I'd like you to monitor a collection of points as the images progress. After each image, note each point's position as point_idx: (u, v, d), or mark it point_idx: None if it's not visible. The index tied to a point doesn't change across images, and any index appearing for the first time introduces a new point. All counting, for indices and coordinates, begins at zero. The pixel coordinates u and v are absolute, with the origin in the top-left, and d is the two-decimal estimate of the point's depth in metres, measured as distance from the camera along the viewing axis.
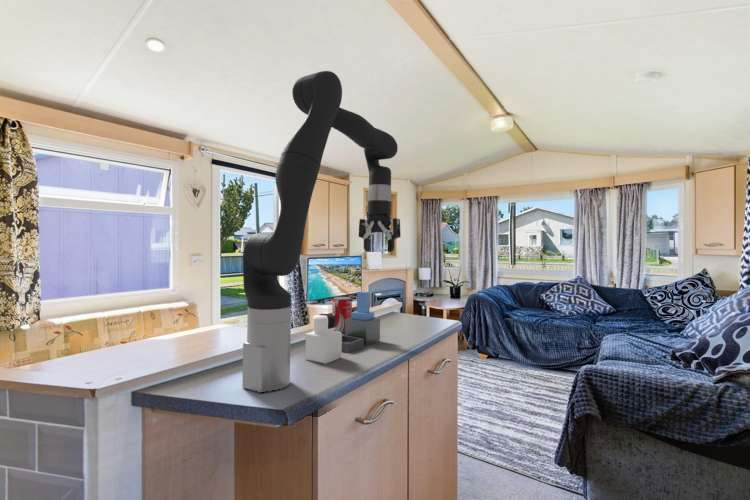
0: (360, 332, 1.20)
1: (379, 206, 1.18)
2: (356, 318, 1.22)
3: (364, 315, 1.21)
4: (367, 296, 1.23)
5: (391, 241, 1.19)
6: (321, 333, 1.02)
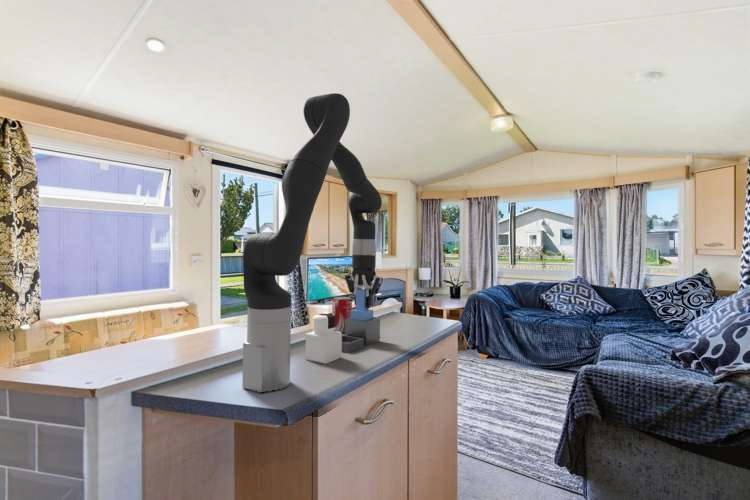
0: (360, 332, 1.20)
1: (363, 261, 1.20)
2: (355, 316, 1.22)
3: (363, 313, 1.20)
4: None
5: (368, 298, 1.22)
6: (321, 333, 1.02)
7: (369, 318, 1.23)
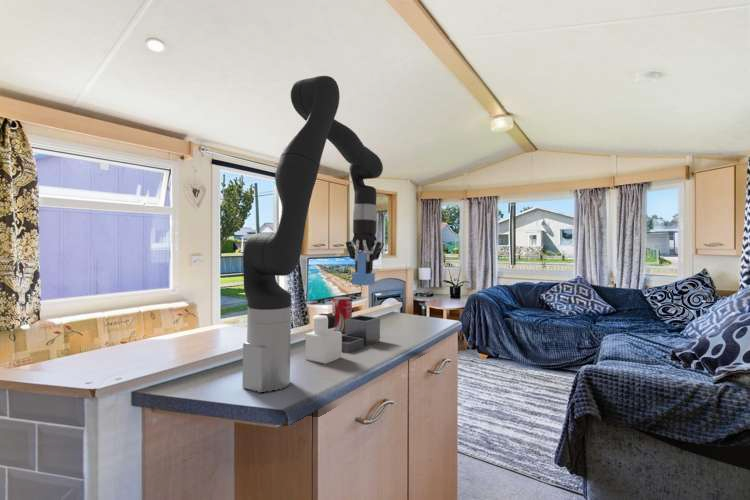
0: (360, 332, 1.20)
1: (363, 225, 1.20)
2: (357, 279, 1.22)
3: (365, 275, 1.20)
4: None
5: (369, 263, 1.22)
6: (321, 333, 1.02)
7: (371, 281, 1.23)
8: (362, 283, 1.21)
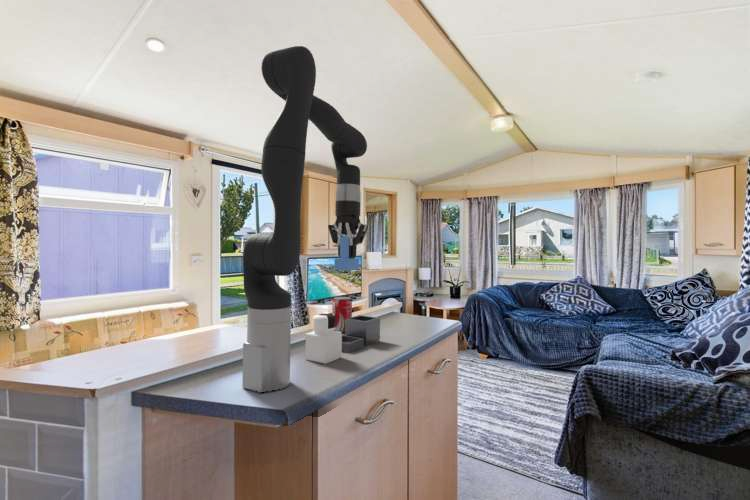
0: (360, 332, 1.20)
1: (346, 207, 1.12)
2: (339, 264, 1.14)
3: (347, 260, 1.13)
4: None
5: (352, 247, 1.14)
6: (321, 333, 1.02)
7: (354, 266, 1.15)
8: (345, 268, 1.13)
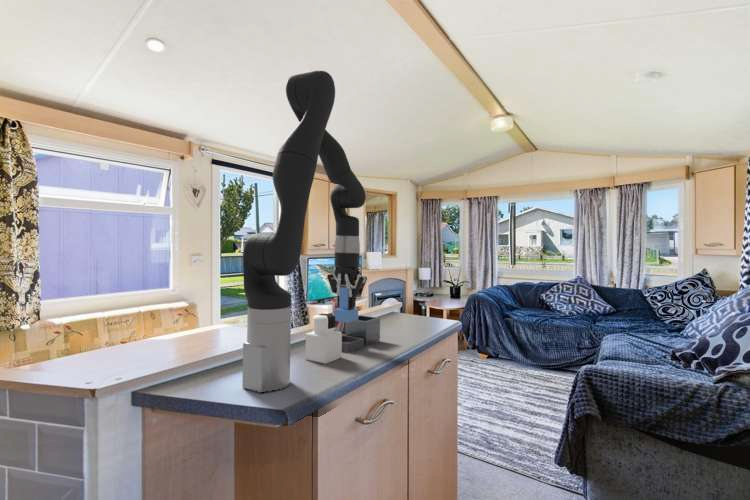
0: (360, 332, 1.20)
1: (345, 259, 1.12)
2: (339, 315, 1.15)
3: (347, 312, 1.13)
4: None
5: (352, 298, 1.14)
6: (321, 333, 1.02)
7: (354, 317, 1.15)
8: (344, 320, 1.14)
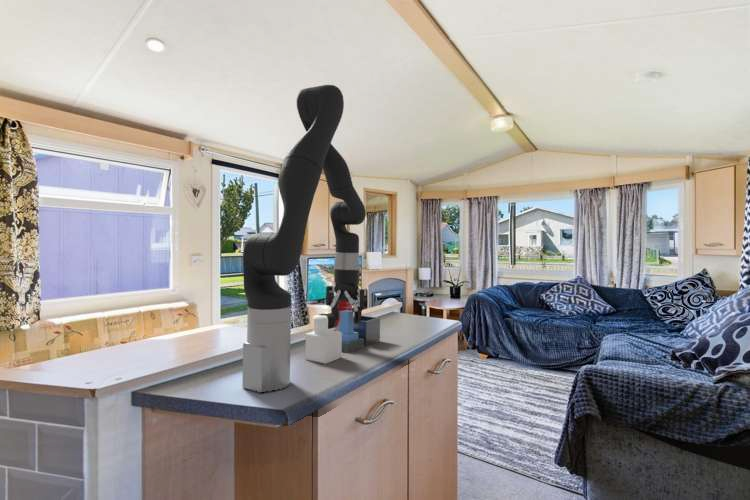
0: (360, 332, 1.20)
1: (345, 276, 1.12)
2: None
3: (347, 336, 1.13)
4: (351, 315, 1.16)
5: (358, 313, 1.13)
6: (321, 333, 1.02)
7: None
8: None
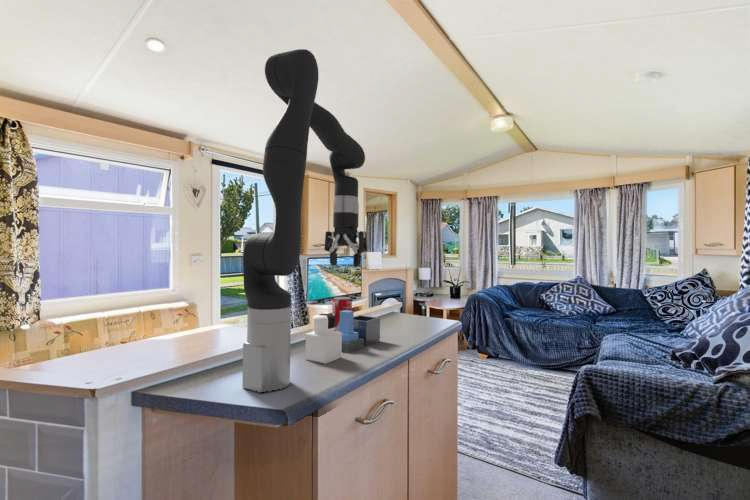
0: (360, 332, 1.20)
1: (344, 218, 1.12)
2: None
3: (347, 336, 1.13)
4: (351, 315, 1.16)
5: (357, 255, 1.13)
6: (321, 333, 1.02)
7: None
8: None
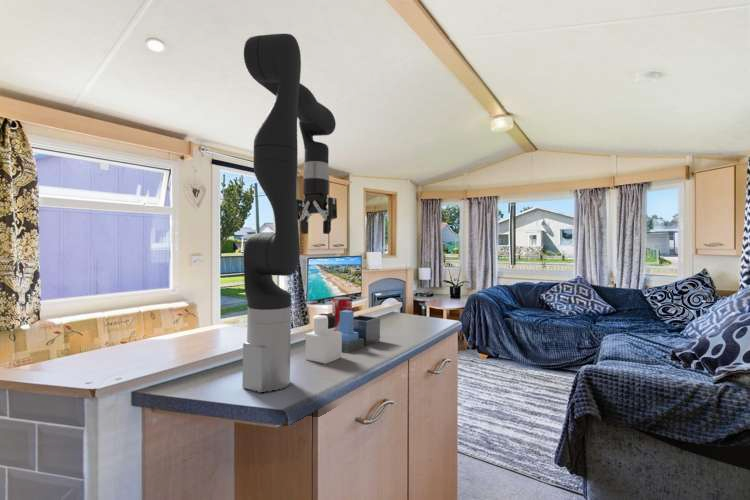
0: (360, 332, 1.20)
1: (313, 184, 1.11)
2: None
3: (347, 336, 1.13)
4: (351, 315, 1.16)
5: (327, 222, 1.11)
6: (321, 333, 1.02)
7: None
8: None
